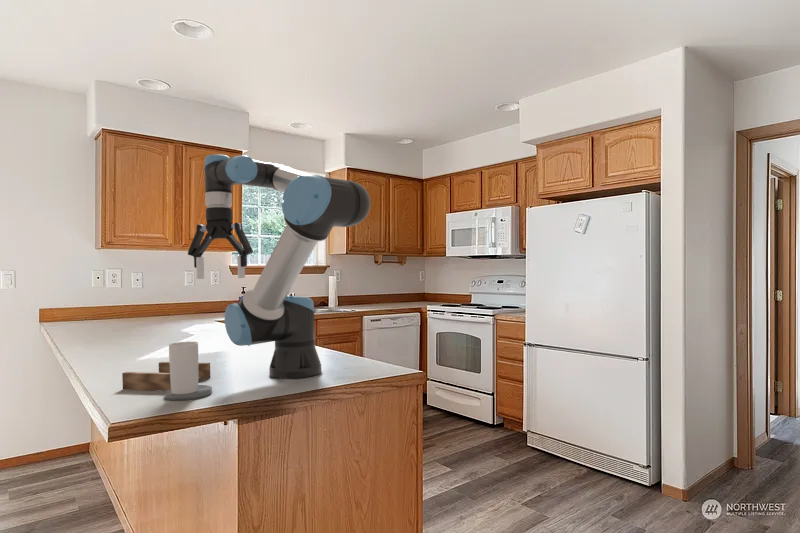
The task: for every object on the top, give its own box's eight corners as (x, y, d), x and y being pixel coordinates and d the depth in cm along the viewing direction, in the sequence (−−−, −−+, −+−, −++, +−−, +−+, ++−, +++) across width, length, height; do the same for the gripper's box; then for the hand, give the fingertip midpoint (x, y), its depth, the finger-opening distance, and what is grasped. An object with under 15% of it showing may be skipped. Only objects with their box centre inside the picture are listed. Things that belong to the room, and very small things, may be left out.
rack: (210, 377, 148) (210, 362, 148) (175, 391, 133) (175, 374, 133) (162, 376, 152) (161, 361, 152) (122, 389, 136) (122, 373, 136)
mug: (194, 394, 124) (193, 345, 124) (165, 395, 123) (164, 346, 123) (206, 384, 134) (205, 339, 134) (180, 385, 133) (179, 340, 133)
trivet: (220, 390, 133) (220, 385, 133) (195, 401, 122) (194, 396, 122) (183, 388, 135) (183, 384, 135) (154, 399, 124) (154, 395, 124)
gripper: (263, 207, 154) (264, 277, 154) (189, 210, 159) (191, 278, 159) (250, 204, 147) (252, 278, 147) (174, 208, 152) (176, 279, 152)
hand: (220, 278), depth 153 cm, fingers open, 13 cm apart
